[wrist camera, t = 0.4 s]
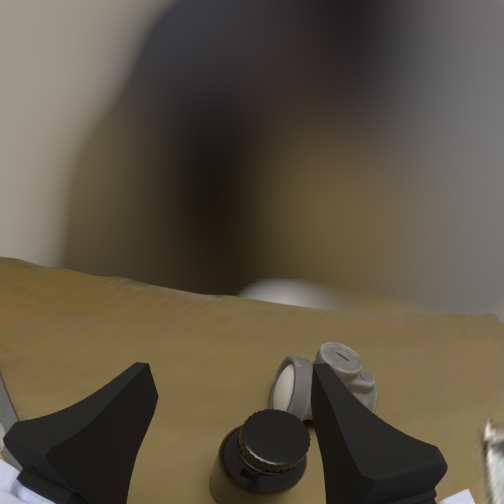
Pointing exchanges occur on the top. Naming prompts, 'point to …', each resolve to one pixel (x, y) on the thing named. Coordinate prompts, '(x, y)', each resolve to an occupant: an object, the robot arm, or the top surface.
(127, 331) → the top surface
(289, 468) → the supplement bottle
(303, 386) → the pipe fitting
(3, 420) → the bolt plate
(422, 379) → the top surface
